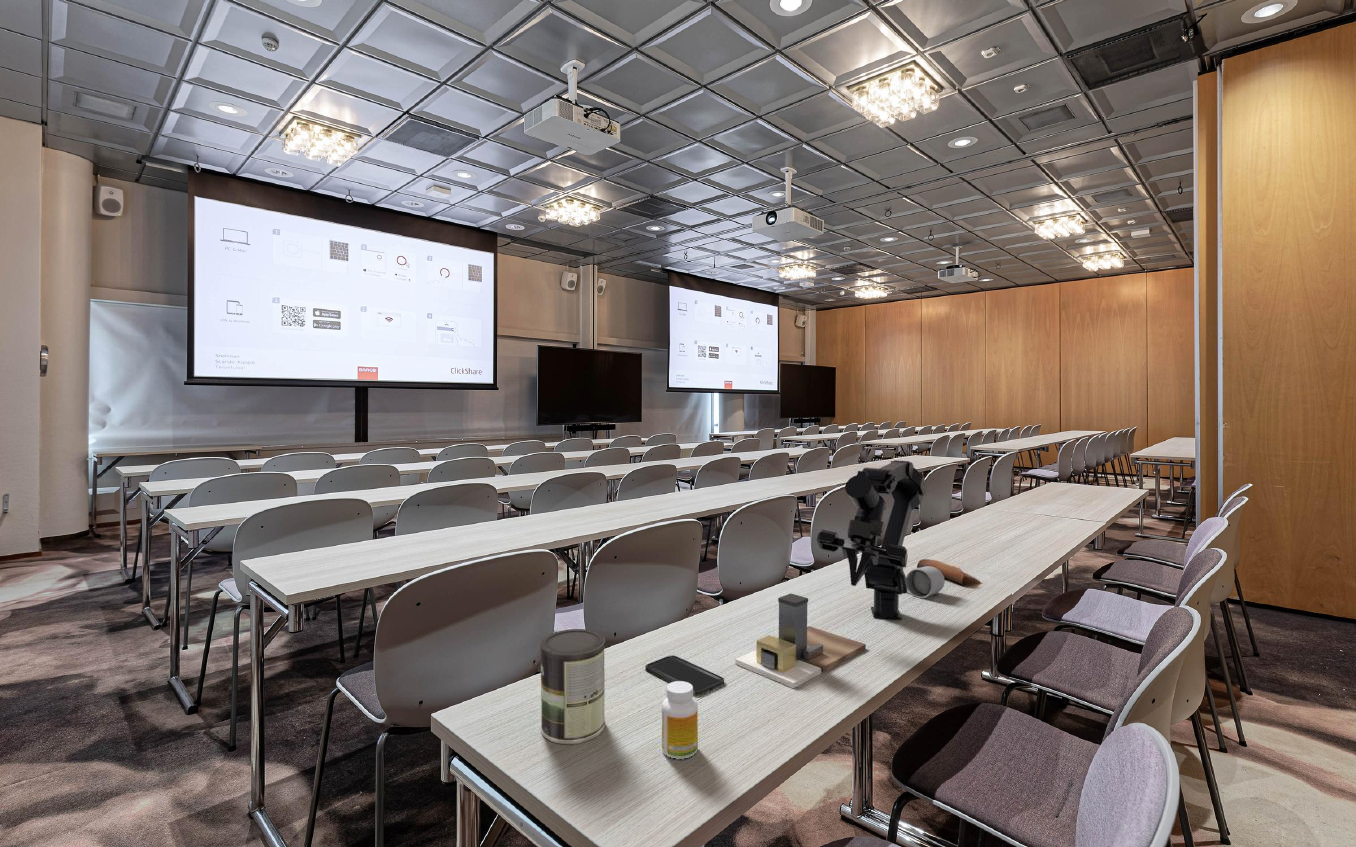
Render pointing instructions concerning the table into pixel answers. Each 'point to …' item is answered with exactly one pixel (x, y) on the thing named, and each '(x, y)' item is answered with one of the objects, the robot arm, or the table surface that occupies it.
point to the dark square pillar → (790, 627)
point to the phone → (685, 674)
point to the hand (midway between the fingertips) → (853, 585)
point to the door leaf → (831, 648)
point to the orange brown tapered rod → (950, 572)
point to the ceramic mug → (924, 581)
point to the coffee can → (572, 686)
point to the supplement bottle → (679, 721)
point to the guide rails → (813, 652)
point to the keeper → (780, 647)
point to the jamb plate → (789, 678)
